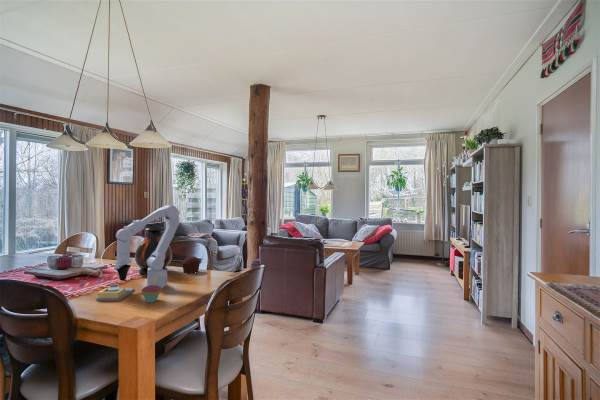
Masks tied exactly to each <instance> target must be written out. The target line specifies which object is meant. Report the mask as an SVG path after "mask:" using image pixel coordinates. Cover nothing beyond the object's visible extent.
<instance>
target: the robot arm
mask: <svg viewBox="0 0 600 400" xmlns="http://www.w3.org/2000/svg"><path fill="white" fill-rule="evenodd" d="M160 218H164V219H165V220H166V221H167V226H166V227H165V231H163V233H162V238H161V240H160V242H159V244H158V246H157V248H156V250H155V251H154V252H153V253H152V255H151V256H150V257H149V258H148V259H147V265H148V266H149V267H148V273H147V279H146V281H147V282H146V285H145V286H144V287H147V286H149V285H154V279H155V276H157V277H156V282H155V285H157V286H160V288H161V289H163V288H165V287H166V286H168V269H167V270H163V269H162V268H163V266H164V260H165V253H166V251H167V249H168V246H169V245H170V244H171V242H172V240H173V238H174V236H175V234H176V231H177V229H178V227H179V226H180V211H179V209H178V207H177V206H175V205H166V204H165V205H163V206H162V207H159V208H157V209H156V210H155V211H153V212H151V213H150V214H148V215H147V216H146V217H144V218H142V219H136V220H135V219H134V220H132V222H131V223H129V224H128V225H127V226H126V225H124V226H123V228H121V229H119V230H117V231H116V234H115V238H116V240H117V241H116V242H117V243H116V261H114V262H113V263H114V267H113V269H114V270H116V271H117V274H118V278H119V281H126V279H127V276H128V272H129V270H130V268H131V263H132V258H131V255H130V254H131V252H130V251H131V239H132V238H133V237H134V236H135V235H137V234H139V233H140V232H141V231H144V230H143V229H144V228H146V225H148V224H150V223H152V222H153V221H155V220H157V219H160ZM156 274H157V275H156Z"/></svg>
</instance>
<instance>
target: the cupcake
mask: <svg viewBox="0 0 600 400" xmlns="http://www.w3.org/2000/svg"><path fill="white" fill-rule="evenodd" d="M156 275H157V274H156ZM156 277H157V276H155V279H154V285H149V286H147V287H145V286H144V287H143V288H142V289H141V291H140V294H141V295H142V296H143V297H144V301H145V302H147V303H154V302H157V301H158V297H159V295H160V294H161V293H162V288H160V286H157V285H155V282H156Z"/></svg>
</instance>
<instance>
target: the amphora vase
mask: <svg viewBox="0 0 600 400" xmlns="http://www.w3.org/2000/svg"><path fill="white" fill-rule="evenodd" d="M165 229H166V227H158V226H156V227H153V226H152V227H151V226H149V227H145V228H144V229H143V230H142V231H144V232H146V237H145V238H144V239H143V240H142V241H141V242H140V243H139V244H138V246H137V248H136V249H135V254H134V262H135V264H136V265H137V267H139V269H138V273H140V274H141V275H144V274H146V275H147V273H148V267H149V266H148V265H147V259H148V258H149V257H150V256H151V255H152V253H153V252H154V251H155V250H156V248H157V246H158V244H159V242H160V240H161V238H162V236H163V233H164V232H165ZM172 260H173V251H172V248H171V245H170V244H169V246H168V249H167V251H166V253H165V260H164V266H163V268H162V269H163V270H167V271H168V268H167V267H168V265H170V264H171V262H172Z"/></svg>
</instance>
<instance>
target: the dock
mask: <svg viewBox="0 0 600 400" xmlns="http://www.w3.org/2000/svg"><path fill="white" fill-rule="evenodd" d="M133 292H135V287H119V291H118V292H108V287H106V288H104V289H101V290H100V291H97V297H96V301H97V302H98V301H99V302H100V301H108V302H109V301H113V302H114V301H115V302H116V301H118V302H119V301H122V299H124V298H126V297H127V296H129V295H130V294H131V293H133Z"/></svg>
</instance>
